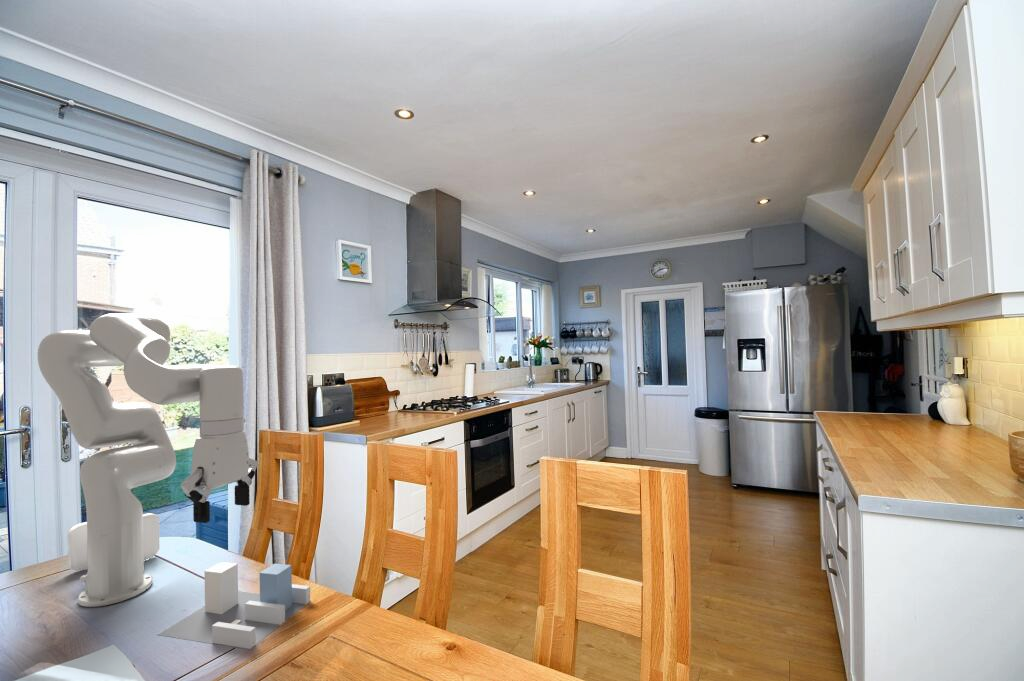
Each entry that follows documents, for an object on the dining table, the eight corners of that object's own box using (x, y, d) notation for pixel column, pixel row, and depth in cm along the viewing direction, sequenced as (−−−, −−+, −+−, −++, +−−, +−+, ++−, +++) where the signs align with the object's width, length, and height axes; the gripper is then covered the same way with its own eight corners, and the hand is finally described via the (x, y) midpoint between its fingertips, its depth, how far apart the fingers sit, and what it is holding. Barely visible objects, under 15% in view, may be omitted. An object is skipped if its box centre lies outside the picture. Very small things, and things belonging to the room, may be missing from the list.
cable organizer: (88, 583, 110) (87, 532, 110) (66, 574, 114) (65, 525, 114) (160, 556, 123) (159, 511, 123) (138, 549, 128) (137, 506, 128)
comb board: (157, 643, 86) (157, 618, 86) (230, 597, 102) (229, 576, 102) (249, 658, 81) (249, 631, 81) (311, 607, 97) (310, 585, 97)
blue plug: (260, 614, 92) (259, 572, 92) (275, 603, 96) (274, 563, 96) (277, 616, 91) (277, 574, 91) (292, 605, 95) (291, 565, 95)
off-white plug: (205, 611, 93) (204, 571, 93) (222, 601, 97) (221, 561, 97) (221, 614, 92) (221, 572, 92) (238, 603, 96) (237, 563, 96)
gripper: (240, 420, 104) (241, 498, 104) (166, 435, 88) (167, 527, 88) (269, 421, 103) (270, 500, 103) (199, 436, 86) (200, 531, 86)
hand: (222, 513), depth 95 cm, fingers open, 9 cm apart
